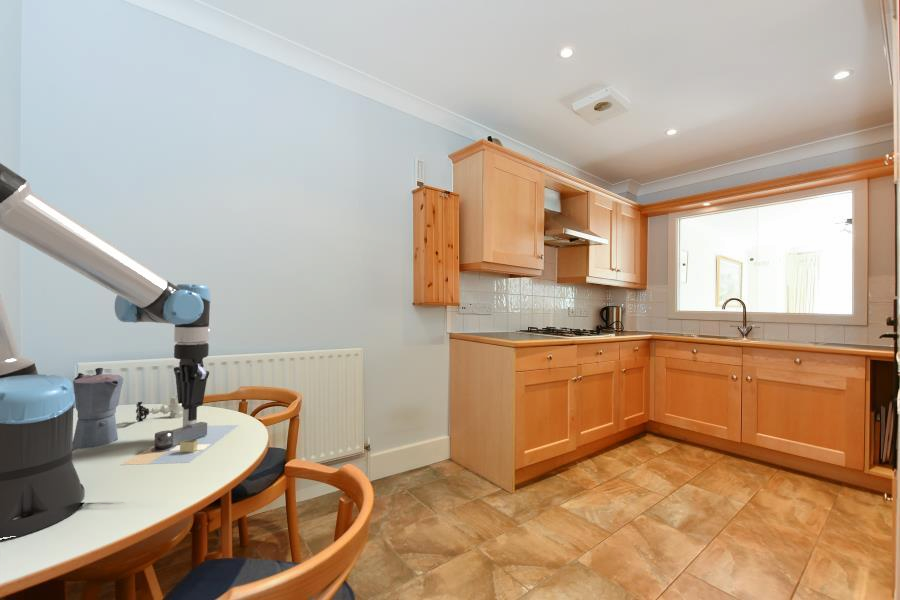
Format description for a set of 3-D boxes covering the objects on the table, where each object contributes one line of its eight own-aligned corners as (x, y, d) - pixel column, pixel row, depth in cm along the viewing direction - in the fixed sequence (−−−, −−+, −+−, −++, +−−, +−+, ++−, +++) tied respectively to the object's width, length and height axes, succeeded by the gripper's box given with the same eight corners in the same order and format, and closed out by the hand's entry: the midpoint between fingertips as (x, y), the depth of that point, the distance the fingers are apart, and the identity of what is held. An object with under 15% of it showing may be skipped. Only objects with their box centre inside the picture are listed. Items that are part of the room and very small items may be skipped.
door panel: (189, 467, 85) (189, 461, 85) (120, 470, 83) (120, 463, 83) (239, 429, 110) (239, 424, 110) (187, 430, 109) (187, 425, 109)
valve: (182, 413, 125) (135, 421, 116) (183, 393, 125) (136, 400, 116) (187, 418, 120) (139, 426, 112) (187, 397, 120) (139, 404, 112)
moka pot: (96, 457, 90) (98, 372, 90) (46, 451, 93) (48, 369, 93) (137, 442, 99) (138, 366, 99) (90, 437, 102) (92, 363, 102)
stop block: (193, 452, 90) (193, 442, 90) (179, 453, 90) (180, 442, 90) (197, 450, 92) (197, 439, 92) (183, 450, 91) (184, 440, 91)
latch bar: (160, 451, 90) (160, 436, 90) (150, 448, 91) (151, 434, 91) (208, 435, 101) (208, 422, 101) (199, 433, 102) (199, 420, 102)
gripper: (220, 343, 100) (218, 432, 100) (194, 339, 107) (191, 423, 107) (189, 346, 94) (186, 441, 94) (163, 342, 100) (160, 431, 100)
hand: (189, 431), depth 100 cm, fingers closed
